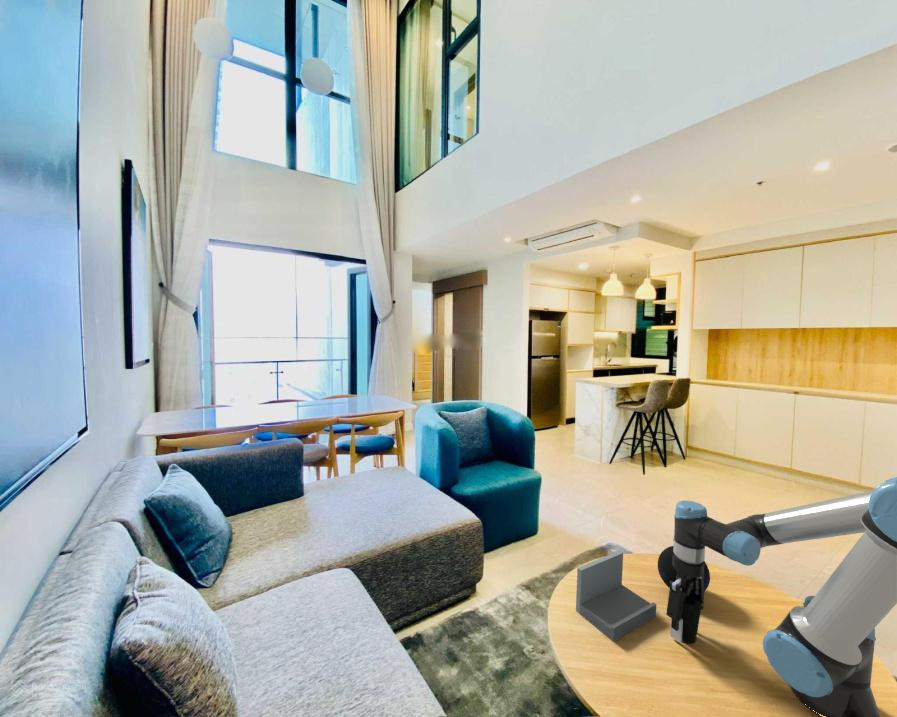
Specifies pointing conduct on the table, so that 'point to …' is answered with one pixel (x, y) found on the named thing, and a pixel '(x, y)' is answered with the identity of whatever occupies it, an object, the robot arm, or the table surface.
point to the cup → (691, 618)
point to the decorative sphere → (670, 573)
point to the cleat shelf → (610, 598)
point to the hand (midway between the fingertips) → (684, 633)
